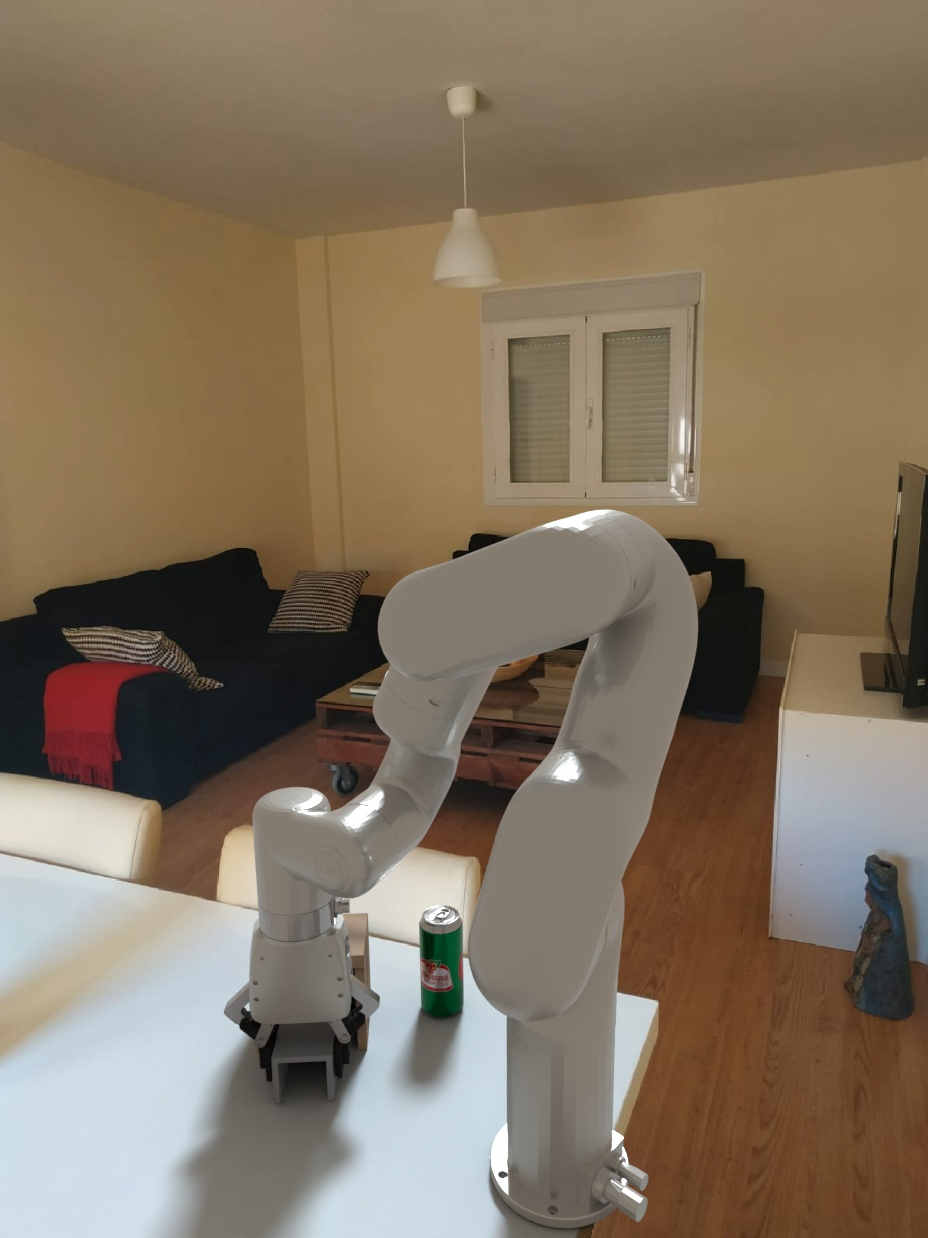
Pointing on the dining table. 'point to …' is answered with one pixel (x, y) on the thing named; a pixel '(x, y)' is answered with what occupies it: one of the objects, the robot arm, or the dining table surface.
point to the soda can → (441, 961)
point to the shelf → (358, 963)
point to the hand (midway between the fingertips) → (306, 1069)
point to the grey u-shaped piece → (303, 1052)
